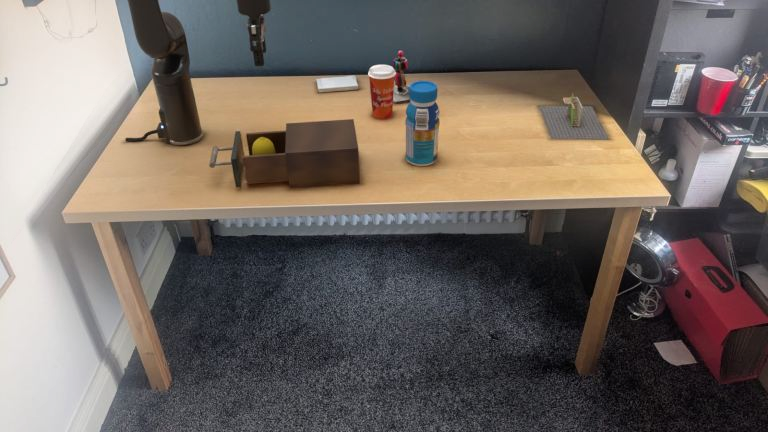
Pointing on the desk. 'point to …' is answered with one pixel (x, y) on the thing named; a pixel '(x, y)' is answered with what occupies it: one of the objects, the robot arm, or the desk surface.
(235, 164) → the drawer
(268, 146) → the lemon
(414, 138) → the beverage bottle
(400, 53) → the statue
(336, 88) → the hard drive
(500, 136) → the desk surface
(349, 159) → the cabinet
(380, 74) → the paper cup
